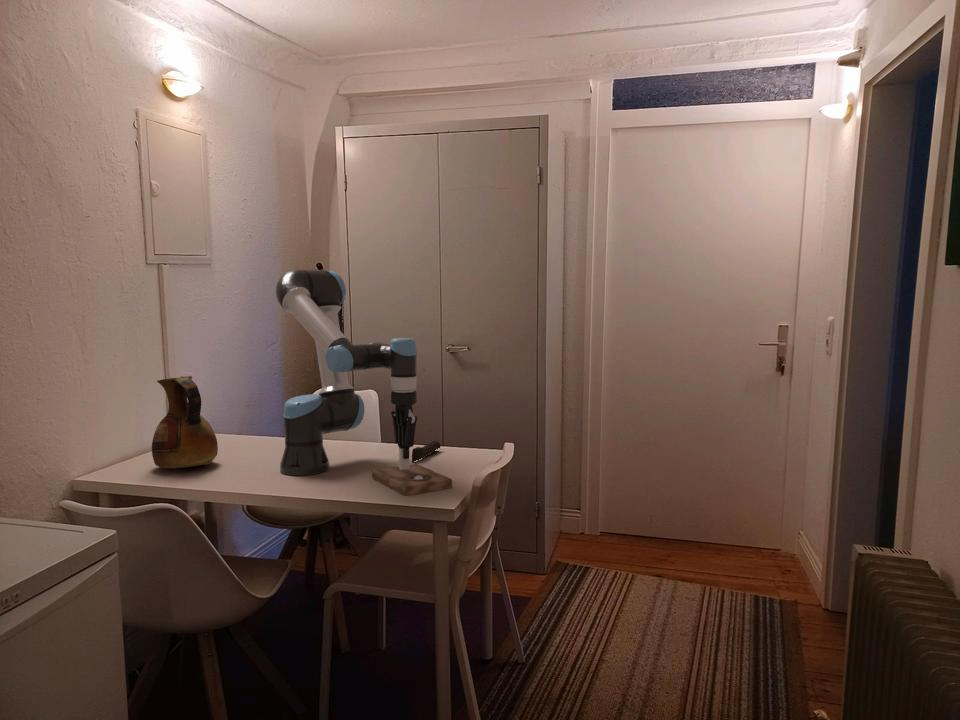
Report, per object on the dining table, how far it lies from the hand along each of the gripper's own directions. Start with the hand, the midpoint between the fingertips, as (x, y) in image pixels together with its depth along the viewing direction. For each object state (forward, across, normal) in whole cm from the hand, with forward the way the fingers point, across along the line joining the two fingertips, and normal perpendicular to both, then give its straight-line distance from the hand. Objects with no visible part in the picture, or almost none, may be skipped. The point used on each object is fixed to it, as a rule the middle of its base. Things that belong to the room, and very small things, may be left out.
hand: (404, 468), depth 208 cm
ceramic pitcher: (+5, +54, +52) cm, 75 cm away
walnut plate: (+3, -4, 0) cm, 5 cm away
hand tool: (+4, +23, -20) cm, 31 cm away
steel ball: (+2, -9, 0) cm, 9 cm away
